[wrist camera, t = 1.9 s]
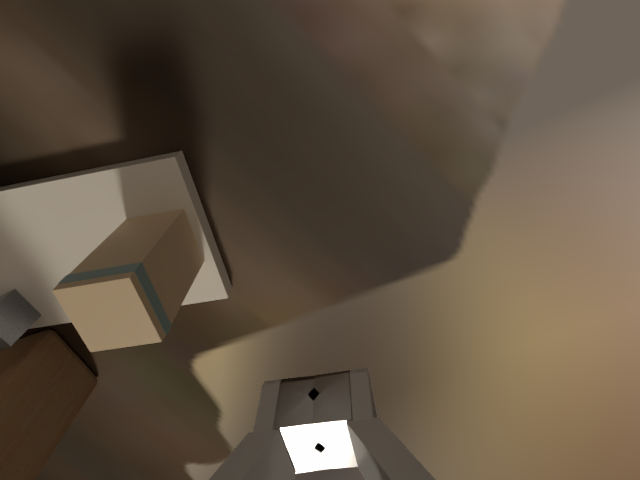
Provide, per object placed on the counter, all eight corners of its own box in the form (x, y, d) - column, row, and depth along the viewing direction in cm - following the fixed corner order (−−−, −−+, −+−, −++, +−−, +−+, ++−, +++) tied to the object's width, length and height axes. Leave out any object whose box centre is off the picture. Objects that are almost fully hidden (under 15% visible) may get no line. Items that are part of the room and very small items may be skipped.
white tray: (-76, 202, 41) (-94, 210, 39) (182, 150, 38) (174, 156, 36) (10, 322, 48) (-2, 333, 47) (232, 287, 45) (228, 298, 44)
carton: (125, 218, 39) (50, 290, 29) (184, 207, 39) (129, 277, 28) (150, 270, 42) (89, 352, 31) (205, 261, 41) (162, 342, 31)
